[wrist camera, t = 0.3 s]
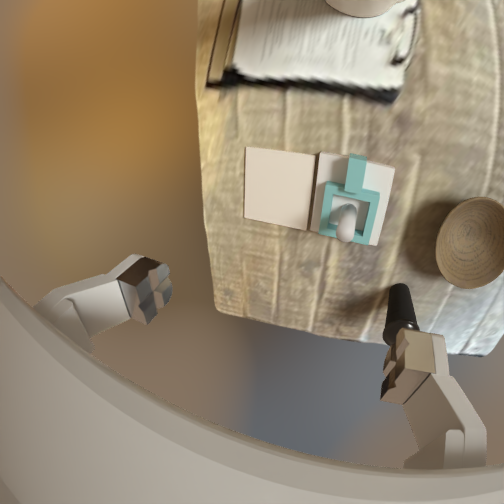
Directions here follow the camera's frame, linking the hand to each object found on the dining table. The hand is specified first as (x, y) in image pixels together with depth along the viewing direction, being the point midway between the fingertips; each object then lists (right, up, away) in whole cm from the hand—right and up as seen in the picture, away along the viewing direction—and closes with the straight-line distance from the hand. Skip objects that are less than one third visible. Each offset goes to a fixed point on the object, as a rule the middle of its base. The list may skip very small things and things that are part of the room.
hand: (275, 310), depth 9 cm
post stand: (+19, +12, +42) cm, 47 cm away
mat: (+5, +15, +47) cm, 49 cm away
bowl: (+43, +7, +34) cm, 55 cm away
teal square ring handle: (+18, +12, +40) cm, 45 cm away
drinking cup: (+33, -7, +48) cm, 58 cm away
